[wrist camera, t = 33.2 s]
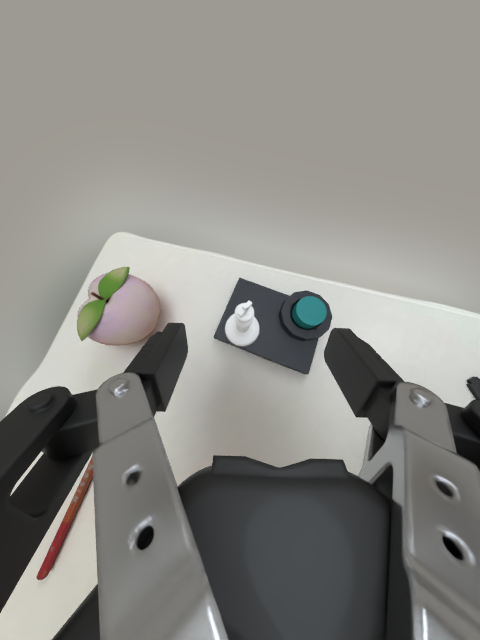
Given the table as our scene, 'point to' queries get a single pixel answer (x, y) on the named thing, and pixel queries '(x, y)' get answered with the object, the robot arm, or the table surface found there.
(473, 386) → the dark flat lumpy piece
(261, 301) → the push button panel
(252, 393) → the table surface
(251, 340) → the chess piece
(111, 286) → the decorative fruit
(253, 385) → the table surface
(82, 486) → the pencil
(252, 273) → the table surface
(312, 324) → the button
